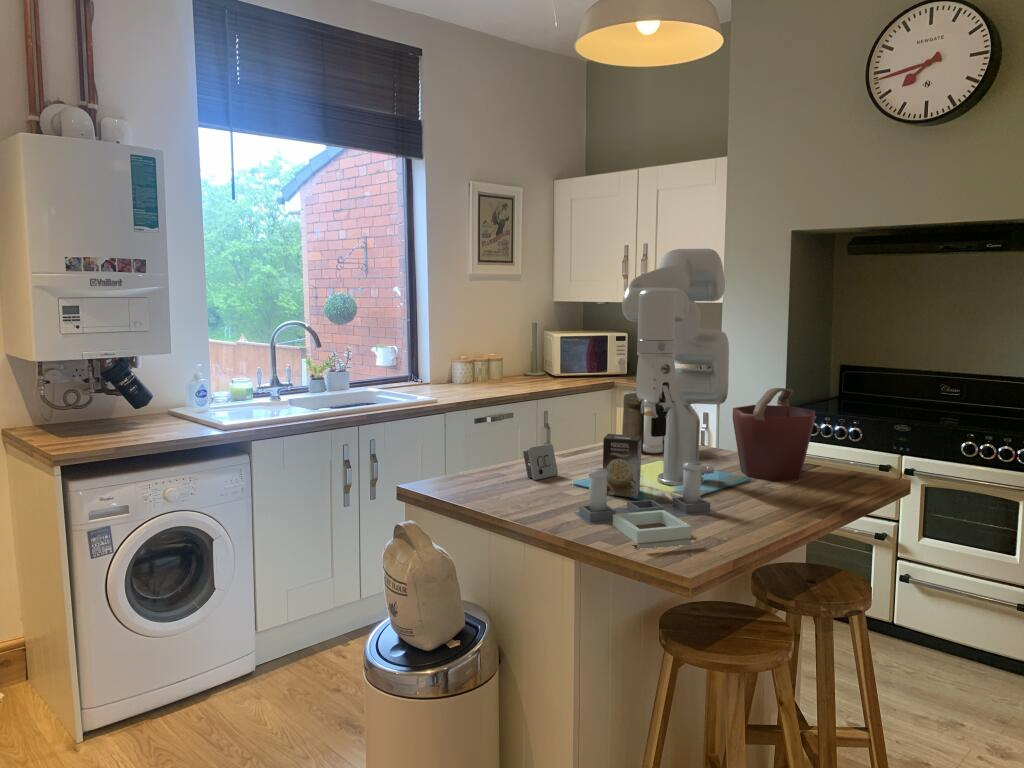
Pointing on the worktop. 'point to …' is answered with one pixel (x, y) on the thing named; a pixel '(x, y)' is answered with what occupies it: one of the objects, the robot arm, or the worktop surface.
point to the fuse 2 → (691, 482)
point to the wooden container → (633, 419)
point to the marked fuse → (650, 442)
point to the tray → (671, 532)
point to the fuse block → (645, 505)
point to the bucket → (772, 437)
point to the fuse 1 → (597, 489)
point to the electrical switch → (540, 462)
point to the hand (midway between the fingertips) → (653, 433)
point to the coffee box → (622, 464)
